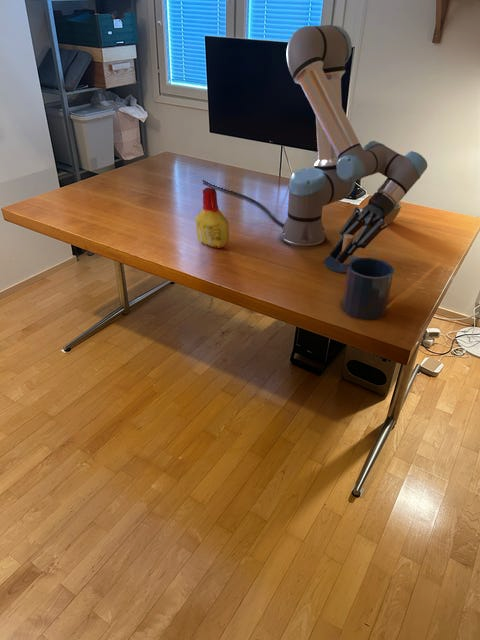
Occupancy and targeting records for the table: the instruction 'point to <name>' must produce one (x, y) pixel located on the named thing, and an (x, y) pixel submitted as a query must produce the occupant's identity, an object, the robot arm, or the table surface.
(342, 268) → the lid
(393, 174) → the robot arm
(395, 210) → the flower pot
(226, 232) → the bottle
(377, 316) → the dark blue cylinder
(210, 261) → the table surface
